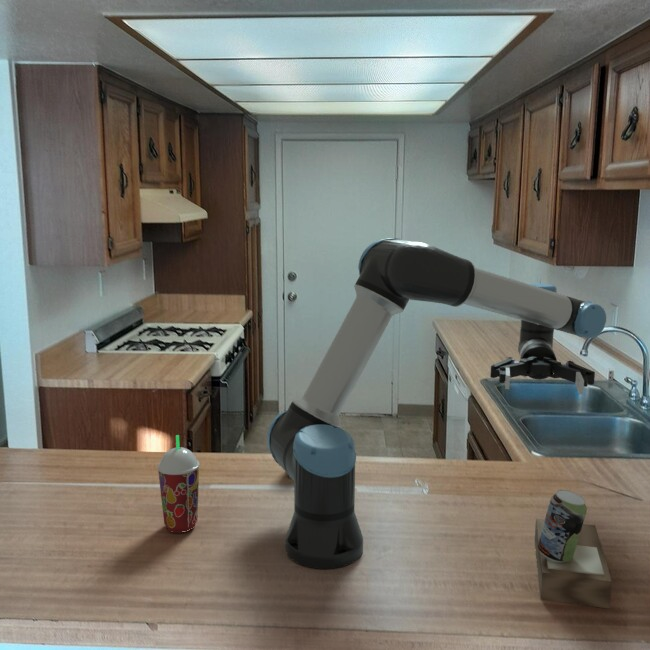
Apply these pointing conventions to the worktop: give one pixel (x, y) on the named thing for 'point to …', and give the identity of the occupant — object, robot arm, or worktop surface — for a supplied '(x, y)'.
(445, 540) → the worktop surface
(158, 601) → the worktop surface
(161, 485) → the smoothie
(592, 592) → the riser
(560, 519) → the beverage can
